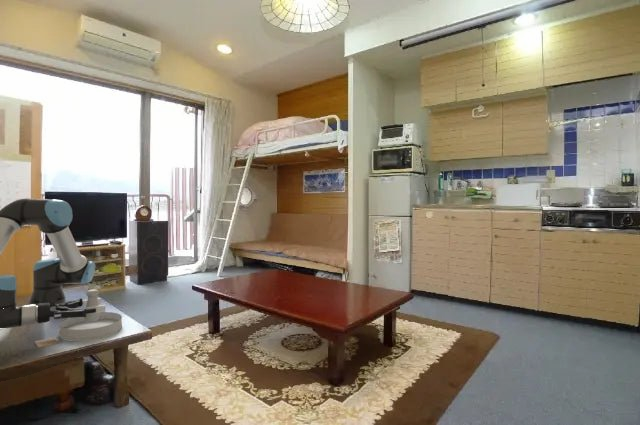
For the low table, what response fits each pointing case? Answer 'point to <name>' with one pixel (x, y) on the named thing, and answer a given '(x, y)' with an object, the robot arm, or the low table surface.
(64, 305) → the robot arm
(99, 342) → the low table surface
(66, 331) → the dish
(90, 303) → the salt shaker
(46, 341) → the cork coaster
